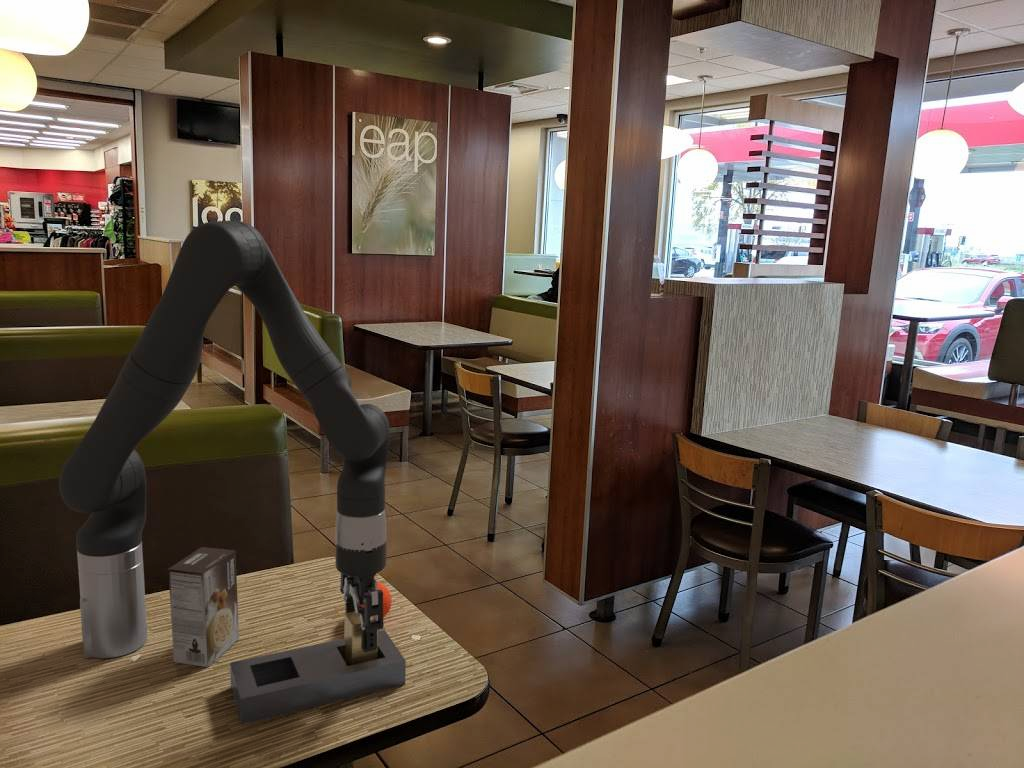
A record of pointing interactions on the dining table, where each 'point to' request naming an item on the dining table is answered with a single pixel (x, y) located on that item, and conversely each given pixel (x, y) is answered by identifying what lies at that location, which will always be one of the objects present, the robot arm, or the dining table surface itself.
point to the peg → (356, 641)
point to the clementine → (384, 599)
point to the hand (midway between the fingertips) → (360, 636)
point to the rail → (310, 678)
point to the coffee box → (203, 606)
